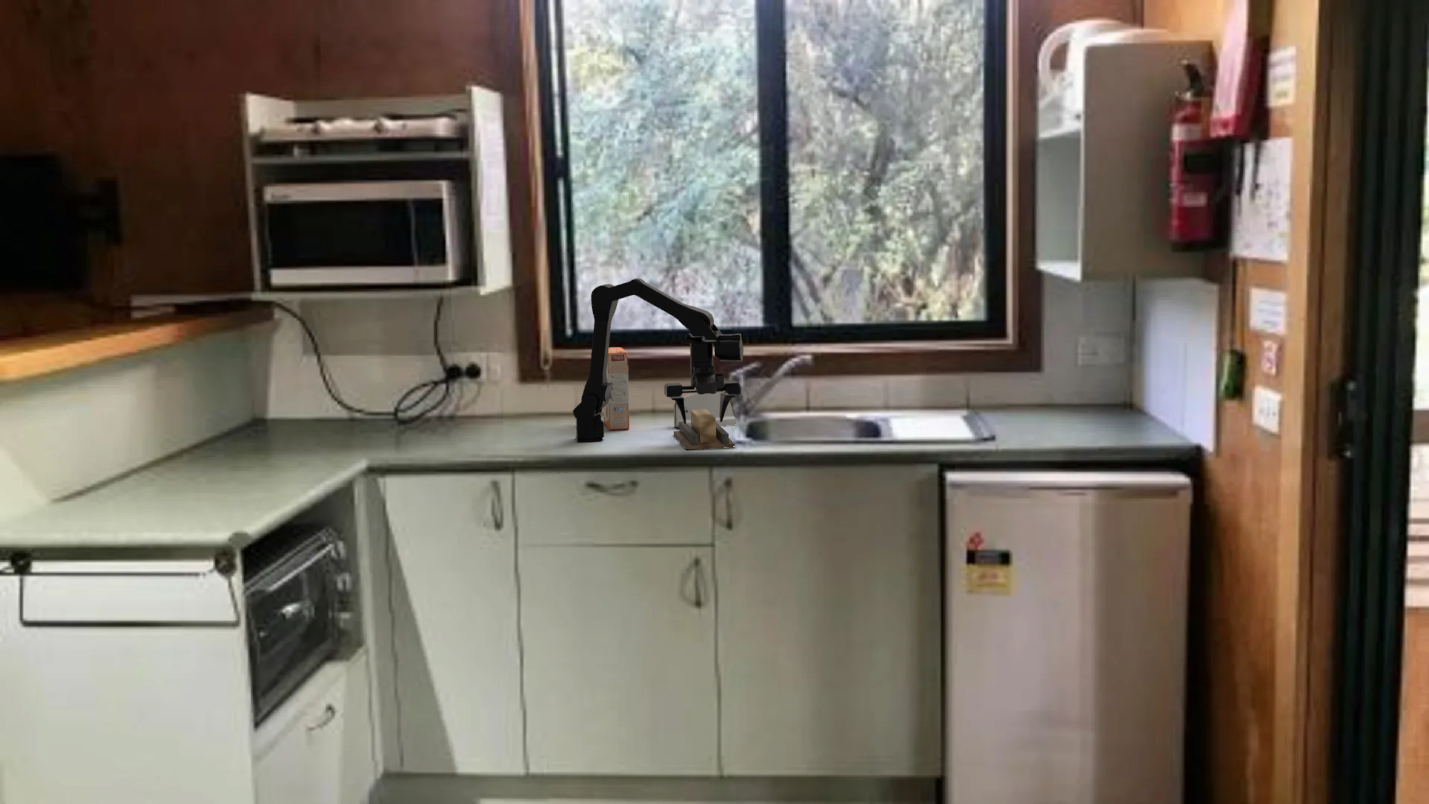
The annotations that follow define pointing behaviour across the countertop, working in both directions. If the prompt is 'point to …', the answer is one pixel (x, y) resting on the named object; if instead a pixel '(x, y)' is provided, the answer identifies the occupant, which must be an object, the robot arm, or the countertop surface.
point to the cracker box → (617, 390)
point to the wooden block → (704, 425)
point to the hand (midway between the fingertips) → (703, 422)
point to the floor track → (692, 442)
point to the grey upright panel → (704, 402)
